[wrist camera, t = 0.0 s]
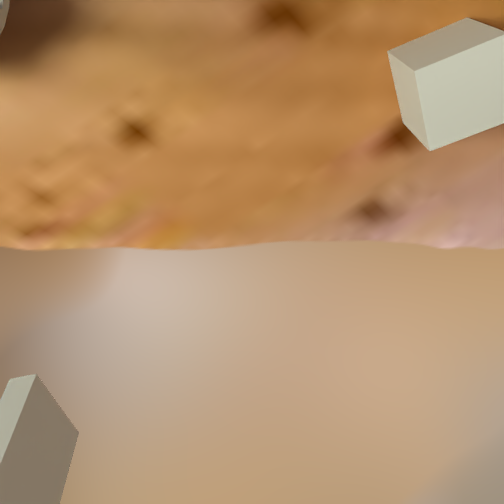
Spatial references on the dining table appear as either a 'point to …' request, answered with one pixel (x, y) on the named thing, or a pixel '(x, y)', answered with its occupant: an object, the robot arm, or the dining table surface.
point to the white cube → (450, 82)
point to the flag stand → (3, 13)
